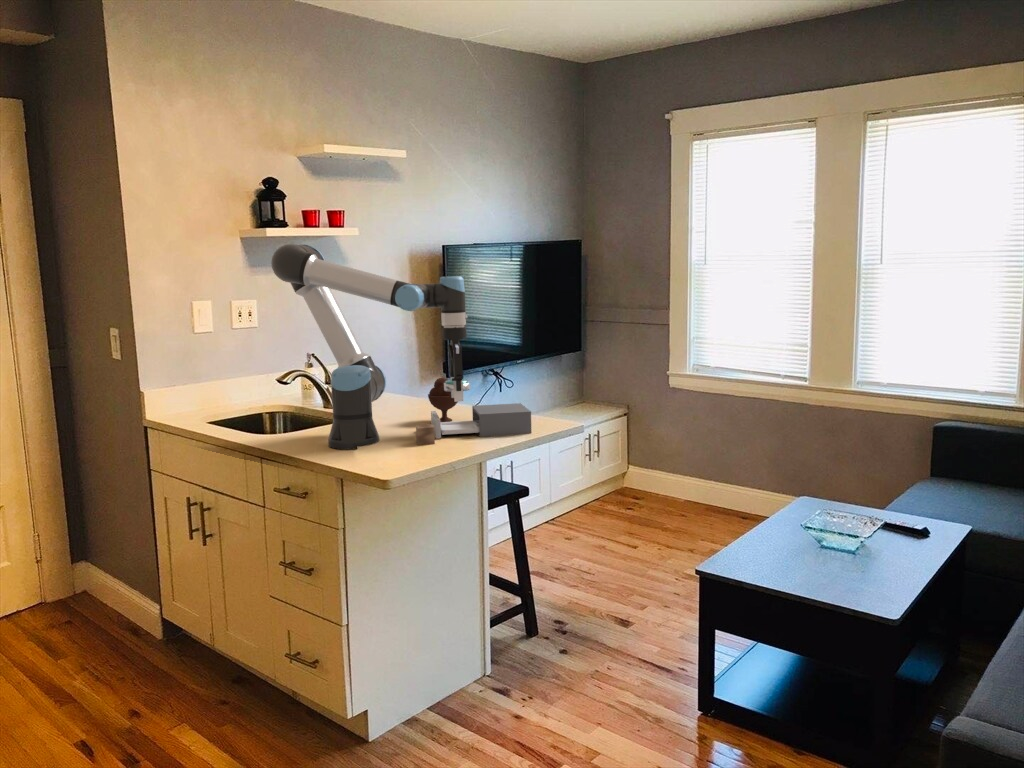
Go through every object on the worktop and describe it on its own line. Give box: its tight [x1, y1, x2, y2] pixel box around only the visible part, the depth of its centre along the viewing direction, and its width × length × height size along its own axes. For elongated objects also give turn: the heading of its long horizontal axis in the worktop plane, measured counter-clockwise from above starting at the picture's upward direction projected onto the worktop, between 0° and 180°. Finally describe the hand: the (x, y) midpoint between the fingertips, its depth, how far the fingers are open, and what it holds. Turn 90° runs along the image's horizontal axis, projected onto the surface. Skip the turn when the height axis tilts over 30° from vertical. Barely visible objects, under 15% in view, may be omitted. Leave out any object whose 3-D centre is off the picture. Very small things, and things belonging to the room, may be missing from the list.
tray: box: [430, 410, 480, 440], centre depth 260 cm, size 16×17×6 cm
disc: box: [444, 378, 471, 392], centre depth 258 cm, size 8×8×3 cm
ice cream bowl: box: [427, 377, 458, 422], centre depth 279 cm, size 11×11×15 cm
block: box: [415, 423, 436, 446], centre depth 246 cm, size 5×5×5 cm
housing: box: [471, 402, 532, 438], centre depth 262 cm, size 16×17×7 cm
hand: (457, 399), depth 259 cm, fingers closed on disc, 8 cm apart
